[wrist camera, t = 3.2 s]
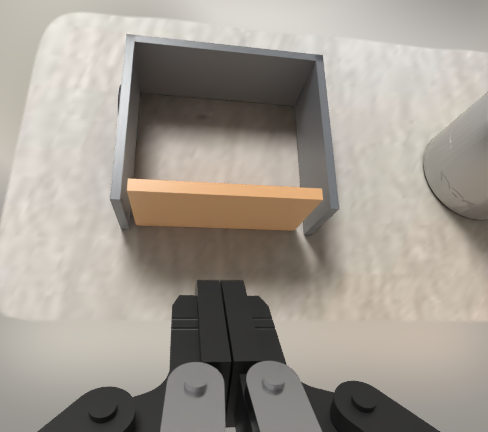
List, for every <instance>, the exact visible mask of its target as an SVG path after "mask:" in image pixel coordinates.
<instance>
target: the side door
mask: <svg viewBox="0 0 488 432" xmlns="http://www.w3.org/2000/svg"><path fill="white" fill-rule="evenodd" d="M127 193H128V197H129V201H130V205H131V209H132V212H133V216H134V220H135V224H136V225H144V226H174V227H204V228H233V229H263V230H293V231H294V230H295V229H296V228H297V227H298V226H299V225H300V224H301V223H302V222H303V221H304V220H305V219H306V218H307V216H308V215H309V214H310V213H311V212H312V211H313V210H314V209H315V208H316V207H317V206H318V205H319V204H320V202H321V201H322V200H323V194H322V189H321V188H302V187H283V186H263V185H244V184H225V183H206V182H186V181H167V180H148V179H128V183H127Z"/></svg>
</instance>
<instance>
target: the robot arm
mask: <svg viewBox="0 0 488 432" xmlns="http://www.w3.org/2000/svg"><path fill="white" fill-rule="evenodd" d="M423 165H424V172H425V176H426V178H427V181H428V184H429V185H430V187H431V189H432V190H433V192H434V194H435V195H436V196H437V197H438V198H439V200H440V201H441V202H442V203H444V204H445V205H446V206H447V207H448V208H449V209H451V210H453V211H454V212H456V213H458V214H460V215H462V216H465V217H467V218H471V219H477V220H486V219H488V92H487V93H486V94H485V95H483V96H482V97H481V98H480V99H479V100H478V101H476V102H475V103H474V104H473V105H472V106H471V107H469V108H468V109H467V110H466V111H465V112H464V113H462V114H461V115H460V116H459V117H458V118H456V119H455V120H454V121H453V122H452V123H451V124H450V125H448V126H447V127H446V128H445V129H444V130H443V131H441V132H440V133H439V134H438V135H437V136H436V137H435V138H433V139H432V140H431V141H430V143H429V144H428V146H427V148H426V151H425V154H424V162H423ZM226 427H235V428H236V432H440V431H438V430H436V429H435V428H434V427H432V426H431V425H429V424H428V423H426V422H425V421H423V420H422V419H420V418H419V417H417V416H416V415H414V414H413V413H412V412H410V411H409V410H407V409H406V408H404V407H403V406H401V405H400V404H398V403H397V402H395V401H394V400H392V399H391V398H389V397H387V396H386V395H385V394H383V393H382V392H380V391H379V390H377V389H376V388H374V387H372V386H371V385H369V384H366V383H363V382H359V381H347V382H344V383H341V384H340V385H339V386H338V387H337V388H336V390H335V392H330V391H326V390H322V389H317V388H314V387H311V386H308V385H306V384H304V383H302V382H301V381H300V379H299V377H298V375H297V374H296V373H295V371H294V370H292V369H291V368H290V367H289V366H287V365H286V362H285V358H284V355H283V352H282V349H281V346H280V343H279V339H278V336H277V332H276V330H275V326H274V323H273V320H272V316H271V313H270V310H269V307H268V305H267V304H266V303H265V302H264V301H263V300H262V299H261V298H260V297H259V296H247V294H246V289H245V285H244V282H243V280H220V281H219V280H196V288H195V295H179V297H178V298H177V300H176V301H175V303H174V304H173V305H172V324H171V346H170V371H169V374H168V376H167V378H166V379H165V381H164V382H163V383H162V384H161V385H160V386H158V387H157V388H155V389H154V390H152V391H150V392H147V393H145V394H141V395H138V396H135V397H132V396H131V395H130V394H129V393H128V392H127V391H125V390H123V389H120V388H117V387H101V388H97V389H94V390H91V391H89V392H87V393H85V394H84V395H83V396H81V397H80V398H79V399H78V400H76V401H75V402H74V403H73V404H71V405H70V406H69V407H68V408H66V409H65V410H64V411H63V412H61V413H60V414H59V415H58V416H56V417H55V418H54V419H53V420H51V421H50V422H49V423H48V424H46V425H45V426H44V427H43V428H42V429H40V430H39V431H38V432H225V428H226Z"/></svg>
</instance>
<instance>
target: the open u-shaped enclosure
mask: <svg viewBox="0 0 488 432" xmlns="http://www.w3.org/2000/svg"><path fill="white" fill-rule="evenodd" d="M140 93H149V94H161V95H172V96H184V97H195V98H207V99H219V100H230V101H242V102H254V103H265V104H277V105H289V106H294V107H295V121H296V134H297V148H298V162H299V175H300V187H302V188H321V189H322V194H323V200H322V201H321V202H320V204H319V205H318V206H317V207H316V208H315V209H314V210H313V211H312V212H311V213H310V214H309V215H308V216H307V218H306V219H305V220H304V221H303V230H304V235H311V234H313V233H314V232H315V231H316V230H317V229H318V228H319V227H320V226H321V225H322V224H323V223H325V222H326V221H327V220H328V219H329V218H330V217H331V216H332V215H333V214H334V213H335V212H337V211H338V210H339V202H338V193H337V184H336V174H335V165H334V156H333V146H332V137H331V128H330V118H329V109H328V100H327V90H326V81H325V72H324V63H323V55H315V54H306V53H297V52H288V51H278V50H269V49H260V48H251V47H242V46H232V45H223V44H214V43H205V42H195V41H186V40H177V39H168V38H159V37H149V36H140V35H131V34H126V44H125V54H124V64H123V74H122V84H121V85H120V88H119V95H118V124H117V134H116V144H115V154H114V164H113V174H112V183H111V193H110V201H111V203H112V206H113V209H114V211H115V214H116V217H117V219H118V222H119V225H120V227H121V229H129V227H130V215H131V205H130V201H129V197H128V193H127V183H128V179H133V177H134V165H135V153H136V140H137V128H138V116H139V103H140Z"/></svg>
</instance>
